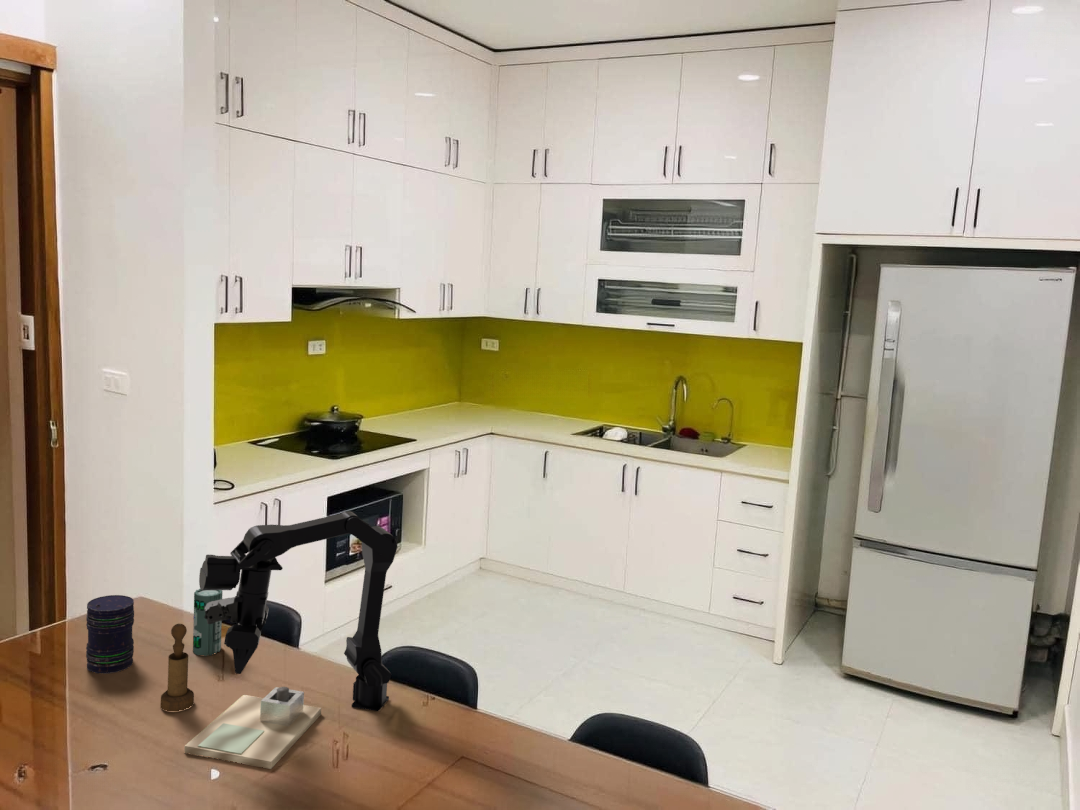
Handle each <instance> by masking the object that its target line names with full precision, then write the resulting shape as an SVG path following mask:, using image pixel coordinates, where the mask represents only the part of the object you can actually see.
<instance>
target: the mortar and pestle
mask: <svg viewBox="0 0 1080 810" xmlns="http://www.w3.org/2000/svg"><path fill="white" fill-rule="evenodd" d="M187 632H188V631H187V626H185V624H183V623H176V624H174V625H173V626H172V627H171V630H170V634H171V636H172V637H173V639H174V644H173V645H172V650H173V652H172V653H170V654H169V655H168V661H167V663H168V666H167V667H168V668H167V669H168V670H167V675H168V676H167V690H165V691H164V692H163V693H162V694H161V695H160V709H161V708H162V709H164V710H167V711H179V710H184V709H186V708H189V707H190V706H192V705H193V706H194V704H195V692H194V691H193V690H192V689H190V688H188V684H189V683H188V681H189V680H188V678H189V674H188V673H189V654H188V653H187V652H184V649H185V643H184V642H183V639H185V638H184V637H185V636H186V635H187ZM193 703H194V704H193ZM193 706H192V707H193ZM162 709H161V710H162ZM189 709H190V708H189ZM164 710H163V711H164Z"/></svg>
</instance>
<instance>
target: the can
mask: <svg viewBox="0 0 1080 810" xmlns="http://www.w3.org/2000/svg"><path fill="white" fill-rule="evenodd" d="M221 599H223V590H201V589H200V588H199V589H196V590H195V591H194V593H193V633H192V635H193V636H192V652H193V654H194V655H196V656H199V655H204V656H205V657H208V656H213V655H212V654H214V653H216V654H217V652H219V653H220V652H221V649H222V625H223V624H222V622H223V621H218V622H215V623H214V624H208V623H207V619H205V617H204V616H205V610H204V608H205V607H206V605H207V603H209V602H212V601H216V600H221ZM207 655H208V656H207ZM214 655H215V654H214ZM204 656H203V657H204Z"/></svg>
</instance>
